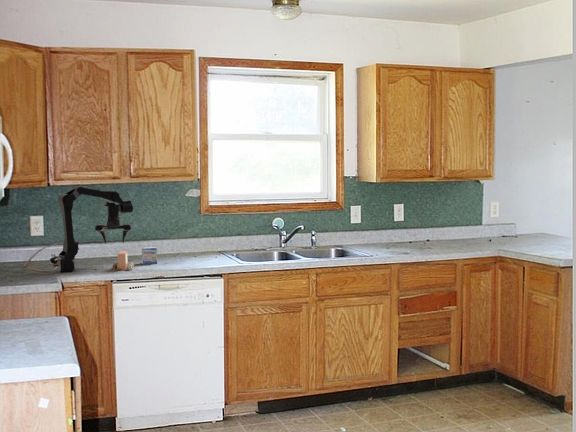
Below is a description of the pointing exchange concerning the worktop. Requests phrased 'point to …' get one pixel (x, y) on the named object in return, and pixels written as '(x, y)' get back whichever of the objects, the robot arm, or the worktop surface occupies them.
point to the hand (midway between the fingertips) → (114, 243)
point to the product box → (122, 260)
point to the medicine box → (149, 255)
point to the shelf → (115, 268)
